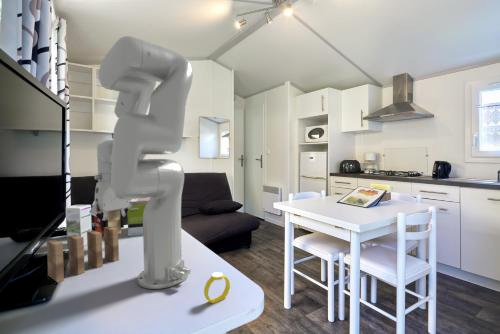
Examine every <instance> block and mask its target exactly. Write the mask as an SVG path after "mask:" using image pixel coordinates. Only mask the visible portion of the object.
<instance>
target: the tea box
mask: <svg viewBox="0 0 500 334" xmlns="http://www.w3.org/2000/svg"><path fill="white" fill-rule="evenodd" d="M149 199H150V197H146V198H138V199H129V202H130V203H131V204H132V207H131V208H130V209H129V210H128V211H127V213H126V215H127V233H128V234H127V236H128V237H140V236H143V212H144V209H145V206H146V204H147V203H148V201H149Z"/></svg>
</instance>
